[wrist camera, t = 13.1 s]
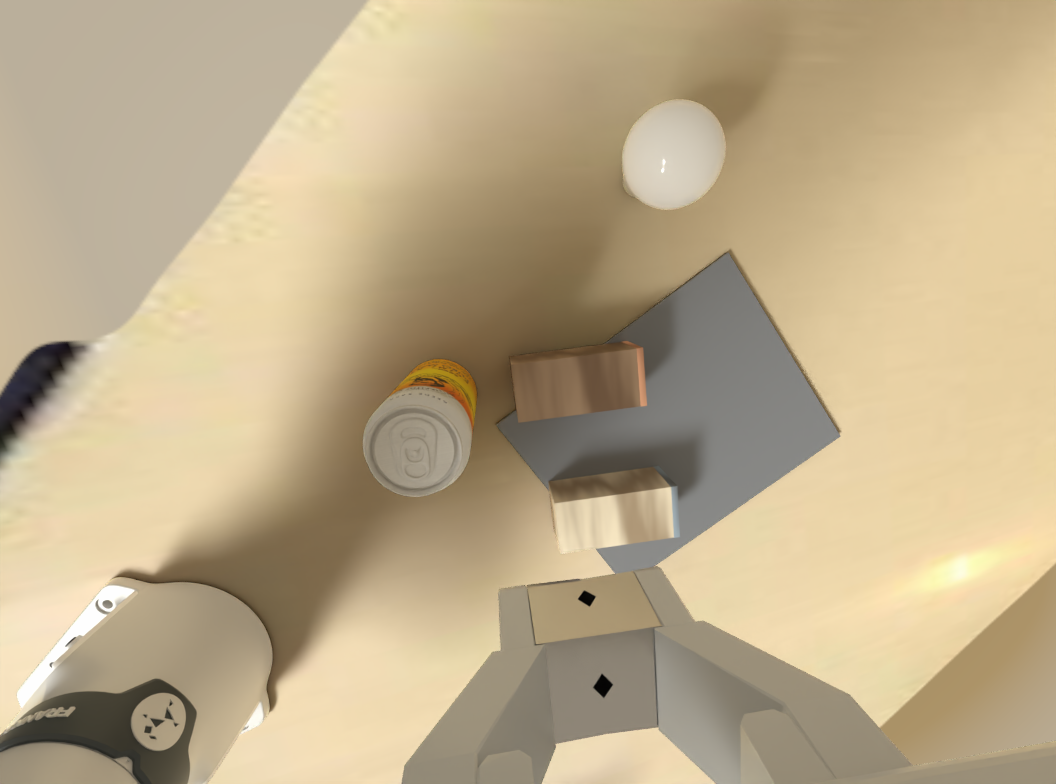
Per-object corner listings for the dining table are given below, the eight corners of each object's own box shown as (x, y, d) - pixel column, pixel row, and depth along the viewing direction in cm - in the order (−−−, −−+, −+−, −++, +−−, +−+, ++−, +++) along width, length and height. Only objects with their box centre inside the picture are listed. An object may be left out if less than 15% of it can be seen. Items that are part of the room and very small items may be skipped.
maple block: (677, 486, 40) (554, 503, 39) (680, 537, 41) (560, 554, 40) (658, 465, 44) (548, 481, 44) (661, 512, 45) (553, 527, 45)
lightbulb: (582, 194, 39) (616, 159, 28) (627, 121, 38) (680, 57, 27) (646, 239, 40) (702, 223, 29) (691, 169, 39) (767, 126, 28)
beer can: (475, 356, 41) (466, 395, 26) (479, 426, 42) (472, 500, 28) (402, 358, 41) (351, 400, 26) (407, 429, 42) (363, 506, 27)
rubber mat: (624, 583, 47) (625, 586, 46) (496, 424, 42) (496, 425, 42) (837, 434, 45) (840, 436, 45) (726, 252, 41) (728, 252, 40)
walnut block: (643, 347, 37) (511, 364, 36) (646, 405, 38) (518, 423, 37) (627, 340, 41) (509, 355, 41) (630, 393, 42) (515, 408, 42)
